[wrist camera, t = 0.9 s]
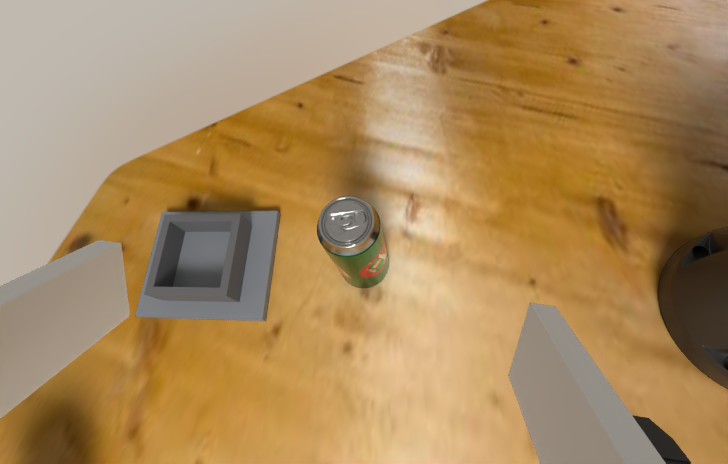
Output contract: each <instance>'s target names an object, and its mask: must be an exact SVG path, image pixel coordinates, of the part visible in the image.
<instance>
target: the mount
mask: <svg viewBox="0 0 728 464" xmlns="http://www.w3.org/2000/svg"><path fill="white" fill-rule="evenodd" d="M280 215H281V214H280V213H279V212H278V211H214V212H162V214H161V218H160V222H159V226H158V230H157V234H156V237H155V241H154V245H153V249H152V253H151V257H150V260H149V264H148V268H147V272H146V276H145V280H144V283H143V287H142V291H141V295H140V299H139V303H138V306H137V310H136V314H135V316H137V317H141V318H173V319H207V320H242V321H266V317H267V310H268V302H269V295H270V288H271V280H272V273H273V266H274V258H275V251H276V244H277V237H278V229H279V222H280Z"/></svg>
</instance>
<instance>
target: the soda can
mask: <svg viewBox="0 0 728 464" xmlns="http://www.w3.org/2000/svg"><path fill="white" fill-rule="evenodd" d="M317 235H318V238H319V241H320V243H321V244H322V246H323V247H324V249H325V250H326V252H327V253H328V255H329V256H330V258H331V259H332V261H333V262H334V264H335V265H336V267H337V268H338V270H339V271H340V273H341V274H342V276H343V277H344V279H345V280H346V281H347V282H348V283H349V284H351V285H352V286H355V287H358V288H370V287H373V286H375V285H377V284H378V283H380V282H381V281H382V280H383V279H384V277H385V276H386V274H387V271H388V267H389V261H388V256H387V251H386V247H385V242H384V237H383V233H382V228H381V223H380V219H379V216H378V213H377V212H376V210H375V209H374V208H373V206H371V205H370V204H369V203H367V202H366V201H364V200H362V199H360V198H357V197H353V196H344V197H339V198H337V199H335V200H333V201H331V202H330V203H328V204H327V205H326V206H325V208H324V209H323V211H322V212H321V215H320V218H319V220H318V225H317Z"/></svg>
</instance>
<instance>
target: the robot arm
mask: <svg viewBox="0 0 728 464" xmlns="http://www.w3.org/2000/svg"><path fill="white" fill-rule="evenodd" d="M659 302H660V308H661V312H662V316H663V319H664V322H665V324H666V326H667V329H668V331H669V332H670V334H671V336H672V338H673V339H674V341H675V343H676V344H677V346H678V347H679V348H680V350H681V351H682V352H683V353H684V355H685V356H686V357H687V358H688V359H689V360H690V361H691V362H692V363H693V364H694V365H695V366H696V367H697V368H698V369H699V370H700V371H702V372H703V373H704V374H705V375H707V376H708V377H709V378H711V379H712V380H713V381H715V382H717V383H718V384H720V385H721V386H723V387H725V388H727V389H728V227H724V228H720V229H717V230H714V231H711V232H708V233H706V234H704V235H702V236H700V237H698V238H696V239H694V240H692V241H690V242H688V243H687V244H685V245H683V246H682V247H681V248H679V249H678V250H677V251H676V252H675V253H674V254H673V255H672V256H671V258H670V259H669V260H668V262H667V264H666V265H665V267H664V270H663V272H662V275H661V279H660V284H659ZM129 316H130V312H129V304H128V296H127V287H126V279H125V271H124V263H123V255H122V247H121V243H116V242H109V241H102V240H98V241H96V242H94V243H92V244H89V245H87V246H85V247H83V248H81V249H79V250H77V251H74V252H72V253H70V254H68V255H66V256H64V257H62V258H59V259H57V260H55V261H53V262H51V263H49V264H47V265H45V266H42V267H40V268H38V269H36V270H34V271H32V272H30V273H28V274H25V275H23V276H21V277H19V278H17V279H15V280H13V281H10V282H9V283H6V284H4V285H2V286H0V418H2V417H3V416H4V415H5V414H7V413H8V412H9V411H10V410H12V409H13V408H14V407H16V406H17V405H18V404H19V403H21V402H22V401H23V400H24V399H26V398H27V397H28V396H29V395H31V394H32V393H33V392H34V391H36V390H37V389H38V388H39V387H41V386H42V385H43V384H45V383H46V382H47V381H48V380H50V379H51V378H52V377H53V376H55V375H56V374H57V373H58V372H60V371H61V370H62V369H63V368H65V367H66V366H67V365H68V364H70V363H71V362H72V361H73V360H75V359H76V358H77V357H79V356H80V355H81V354H82V353H84V352H85V351H86V350H87V349H89V348H90V347H91V346H92V345H94V344H95V343H96V342H97V341H99V340H100V339H101V338H102V337H104V336H105V335H106V334H107V333H109V332H110V331H111V330H113V329H114V328H115V327H116V326H118V325H119V324H120V323H121V322H123V321H124V320H125V319H126V318H128V317H129ZM508 376H509V379H510V382H511V384H512V387H513V390H514V393H515V395H516V398H517V401H518V404H519V406H520V409H521V412H522V415H523V417H524V420H525V423H526V426H527V428H528V431H529V434H530V437H531V440H532V442H533V445H534V448H535V451H536V453H537V456H538V459H539V462H540V464H691V462H690V460H689V459H688V458H687V457H686V455H685V454H684V453H683V451H682V450H681V449H680V448H679V446H678V445H677V444H676V442H675V441H674V440H673V439H672V438H671V437H670V436H669V435H668V434H666V433H665V432H664V431H663V430H662V429H661V428H659V427H658V426H657V425H656V424H655V423H654V422H652V421H651V420H650V419H649V418H645V417H638V416H632V415H631V413H630V412H629V410H628V409H627V408H626V406H625V405H624V403H623V402H622V400H621V399H620V398H619V396H618V395H617V393H616V392H615V390H614V389H613V388H612V386H611V385H610V383H609V382H608V381H607V379H606V378H605V376H604V375H603V373H602V372H601V371H600V369H599V368H598V366H597V365H596V364H595V362H594V361H593V359H592V358H591V356H590V355H589V354H588V352H587V351H586V349H585V348H584V346H583V345H582V344H581V342H580V341H579V339H578V338H577V337H576V335H575V334H574V332H573V331H572V329H571V328H570V327H569V325H568V324H567V322H566V321H565V319H564V318H563V317H562V315H561V314H560V312H559V311H558V310H557V308H556V307H554V306H548V305H541V304H534V303H530V304H529V307H528V311H527V314H526V317H525V321H524V324H523V328H522V331H521V334H520V338H519V341H518V344H517V348H516V351H515V355H514V358H513V361H512V365H511V368H510V372H509V375H508Z"/></svg>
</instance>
